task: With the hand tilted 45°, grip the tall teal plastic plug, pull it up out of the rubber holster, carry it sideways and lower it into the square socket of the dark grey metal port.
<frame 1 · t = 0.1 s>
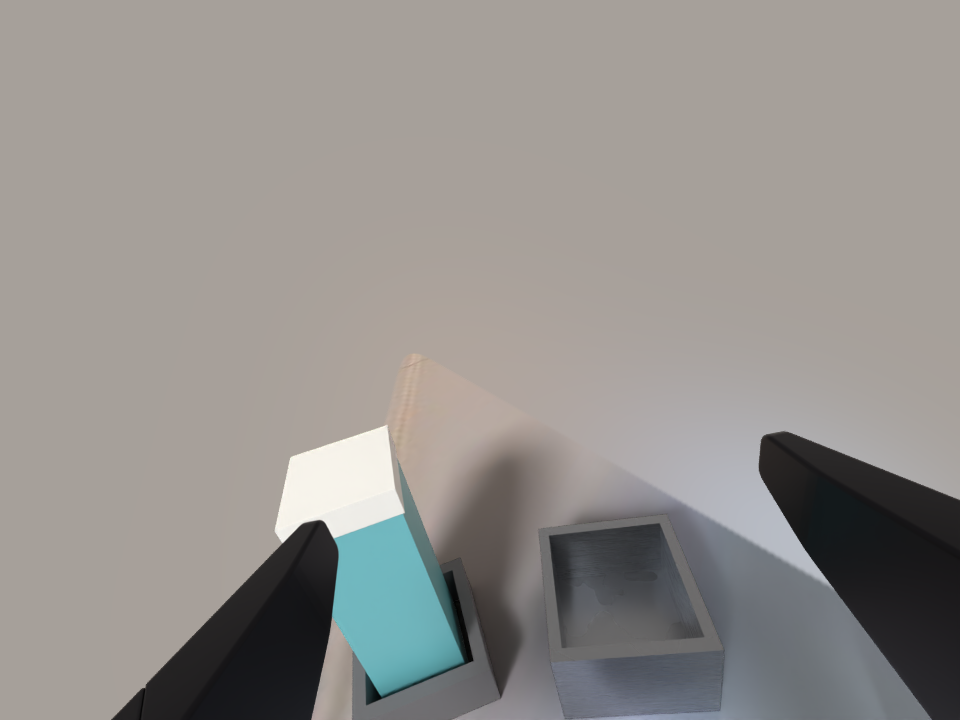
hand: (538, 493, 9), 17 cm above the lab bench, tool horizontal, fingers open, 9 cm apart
holster: (427, 658, 23), on the lab bench
plug: (427, 658, 23), resting in holster
port: (622, 637, 22), on the lab bench
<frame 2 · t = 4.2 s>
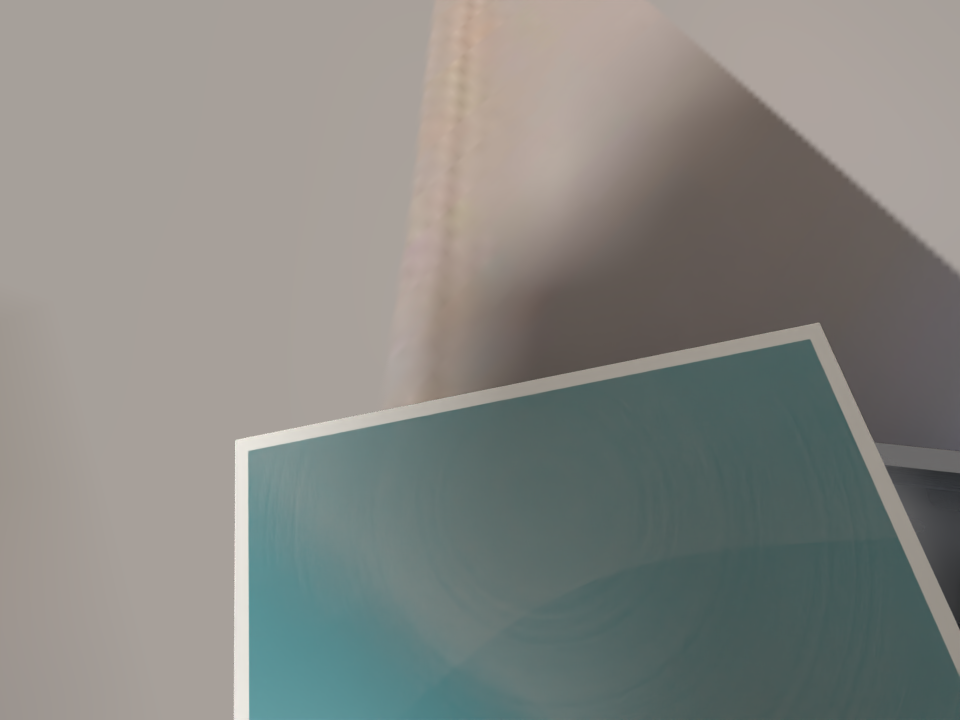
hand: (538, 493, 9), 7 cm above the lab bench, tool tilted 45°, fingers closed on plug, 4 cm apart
plug: (547, 538, 15), resting in holster, touching gripper
port: (883, 579, 13), on the lab bench
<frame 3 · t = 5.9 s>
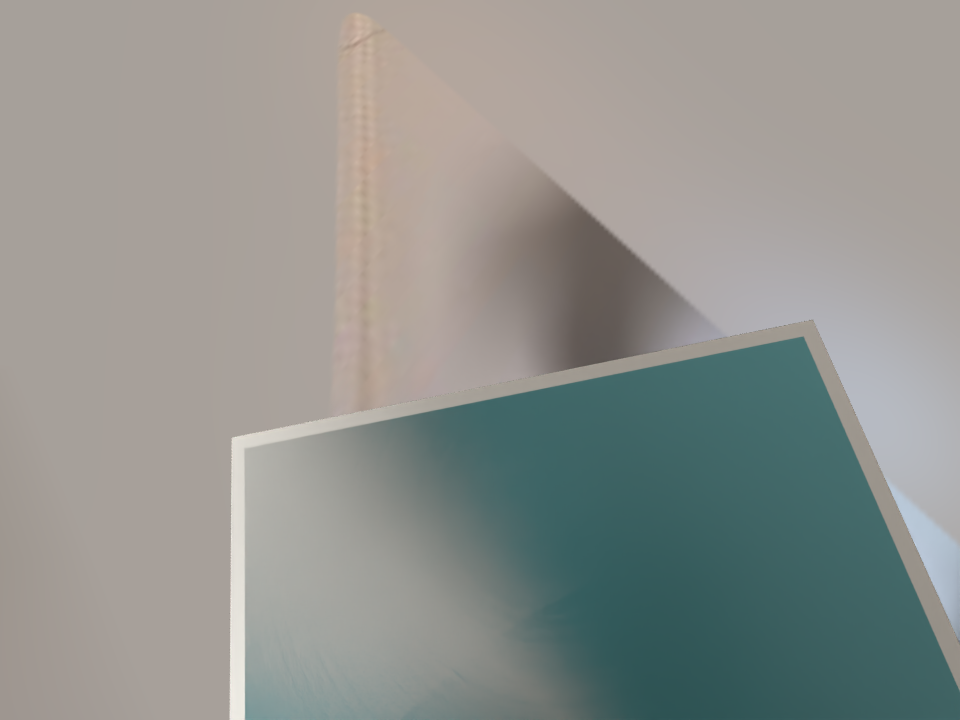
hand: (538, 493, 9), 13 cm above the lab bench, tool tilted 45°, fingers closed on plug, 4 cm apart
plug: (546, 537, 15), point 7 cm above the lab bench, touching gripper
when the fingers open (9 cm above the lab bench, at t = 7.8 s): plug stays where it is, resting on port.
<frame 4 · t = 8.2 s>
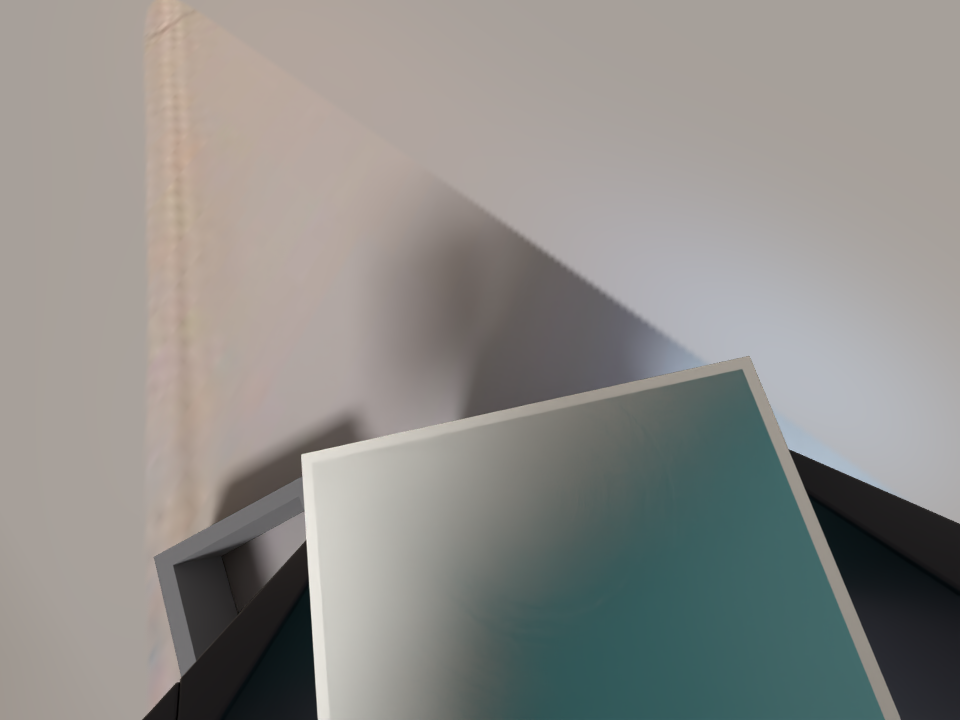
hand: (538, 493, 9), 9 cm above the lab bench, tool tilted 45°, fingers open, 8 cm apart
holster: (295, 586, 17), on the lab bench
plug: (547, 534, 16), point 1 cm above the lab bench, touching port
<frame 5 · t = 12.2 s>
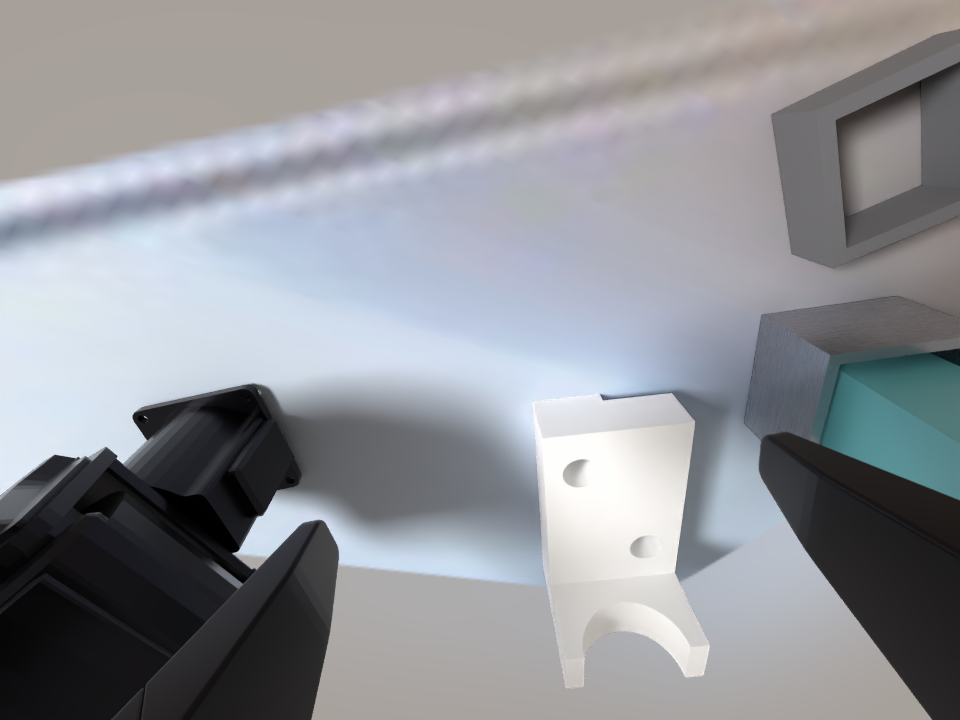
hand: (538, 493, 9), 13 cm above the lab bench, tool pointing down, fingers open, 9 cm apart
holster: (857, 154, 18), on the lab bench
bracket: (595, 481, 27), on the lab bench
plug: (830, 373, 22), point 1 cm above the lab bench, touching port
port: (815, 364, 23), on the lab bench
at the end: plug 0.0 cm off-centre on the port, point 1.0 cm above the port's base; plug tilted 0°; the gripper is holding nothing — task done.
